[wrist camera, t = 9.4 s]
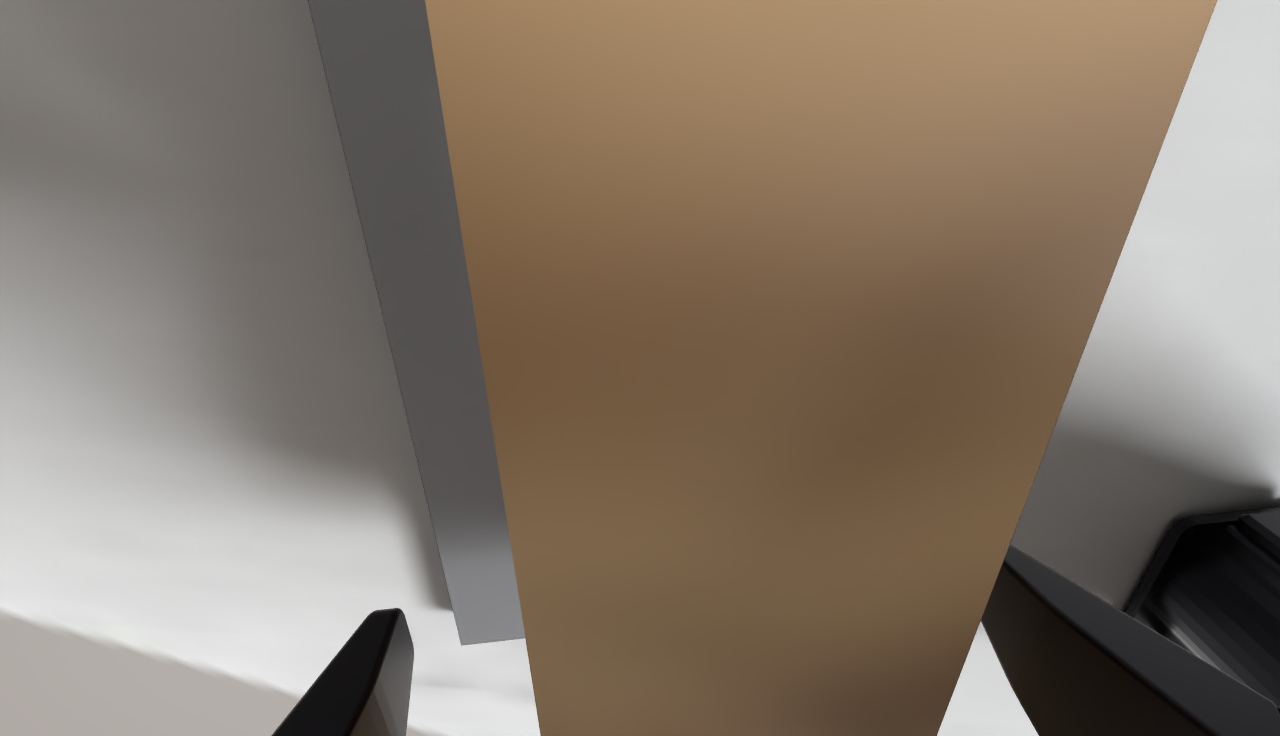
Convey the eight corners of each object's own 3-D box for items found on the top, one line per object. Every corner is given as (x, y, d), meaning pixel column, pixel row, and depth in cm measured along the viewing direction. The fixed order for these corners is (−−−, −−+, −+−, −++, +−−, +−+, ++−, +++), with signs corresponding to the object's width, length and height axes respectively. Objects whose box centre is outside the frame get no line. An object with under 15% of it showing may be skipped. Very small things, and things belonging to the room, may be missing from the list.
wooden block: (760, 727, 16) (838, 992, 12) (577, 751, 16) (588, 1037, 11) (864, -14, 8) (1230, -31, 4) (493, -10, 8) (421, -23, 3)
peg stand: (807, 577, 23) (887, 753, 17) (465, 614, 22) (437, 816, 16) (926, -123, 13) (1196, -213, 7) (299, -127, 12) (86, -235, 6)
